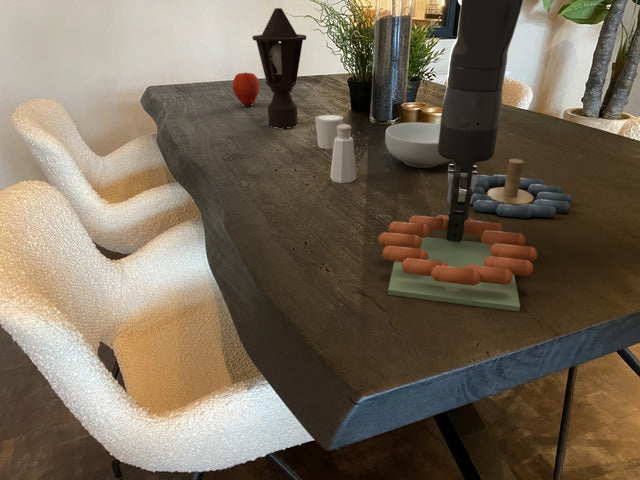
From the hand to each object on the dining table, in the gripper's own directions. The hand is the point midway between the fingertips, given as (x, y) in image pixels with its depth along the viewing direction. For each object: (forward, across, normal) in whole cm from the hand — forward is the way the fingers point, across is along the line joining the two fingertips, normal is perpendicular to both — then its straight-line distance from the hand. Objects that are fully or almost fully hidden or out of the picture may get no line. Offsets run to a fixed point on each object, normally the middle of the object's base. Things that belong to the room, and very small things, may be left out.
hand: (453, 235), depth 74 cm
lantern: (+2, +62, +47) cm, 78 cm away
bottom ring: (+2, +21, -10) cm, 23 cm away
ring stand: (+2, +20, -10) cm, 23 cm away
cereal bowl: (+2, +38, +7) cm, 39 cm away
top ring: (-1, -7, 0) cm, 7 cm away
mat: (+2, -8, 0) cm, 8 cm away
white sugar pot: (+2, +46, +30) cm, 55 cm away
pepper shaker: (+2, +24, +22) cm, 33 cm away
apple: (+2, +84, +66) cm, 106 cm away
